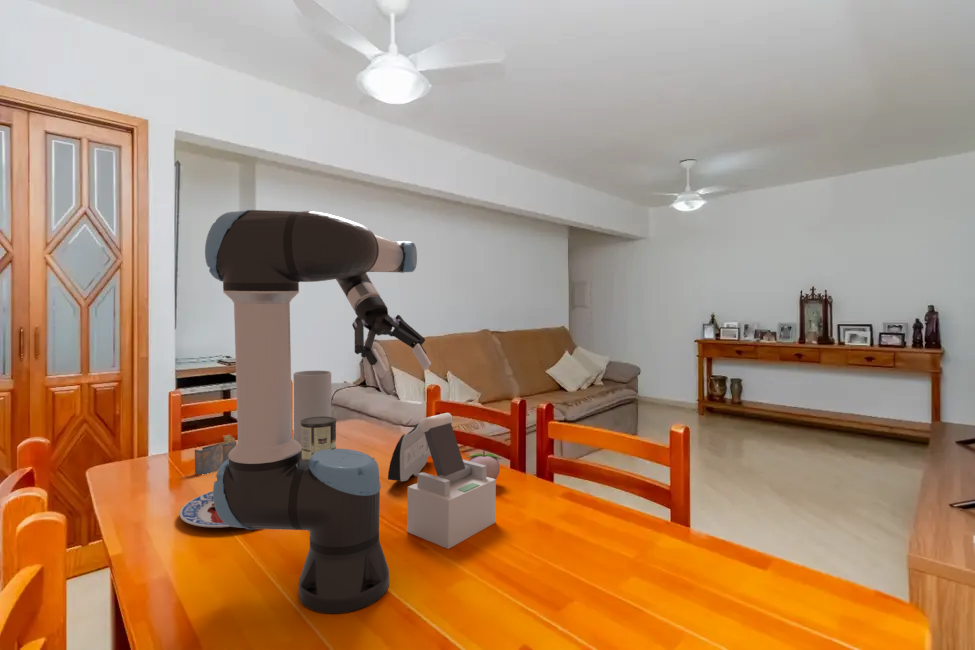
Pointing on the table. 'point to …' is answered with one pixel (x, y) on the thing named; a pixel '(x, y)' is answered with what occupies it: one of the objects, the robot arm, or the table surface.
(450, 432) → the lever
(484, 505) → the box
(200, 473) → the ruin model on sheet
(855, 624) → the table surface
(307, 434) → the coffee can
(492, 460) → the decorative fruit
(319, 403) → the cylinder vase
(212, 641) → the table surface
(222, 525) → the ceramic plate
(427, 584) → the table surface
